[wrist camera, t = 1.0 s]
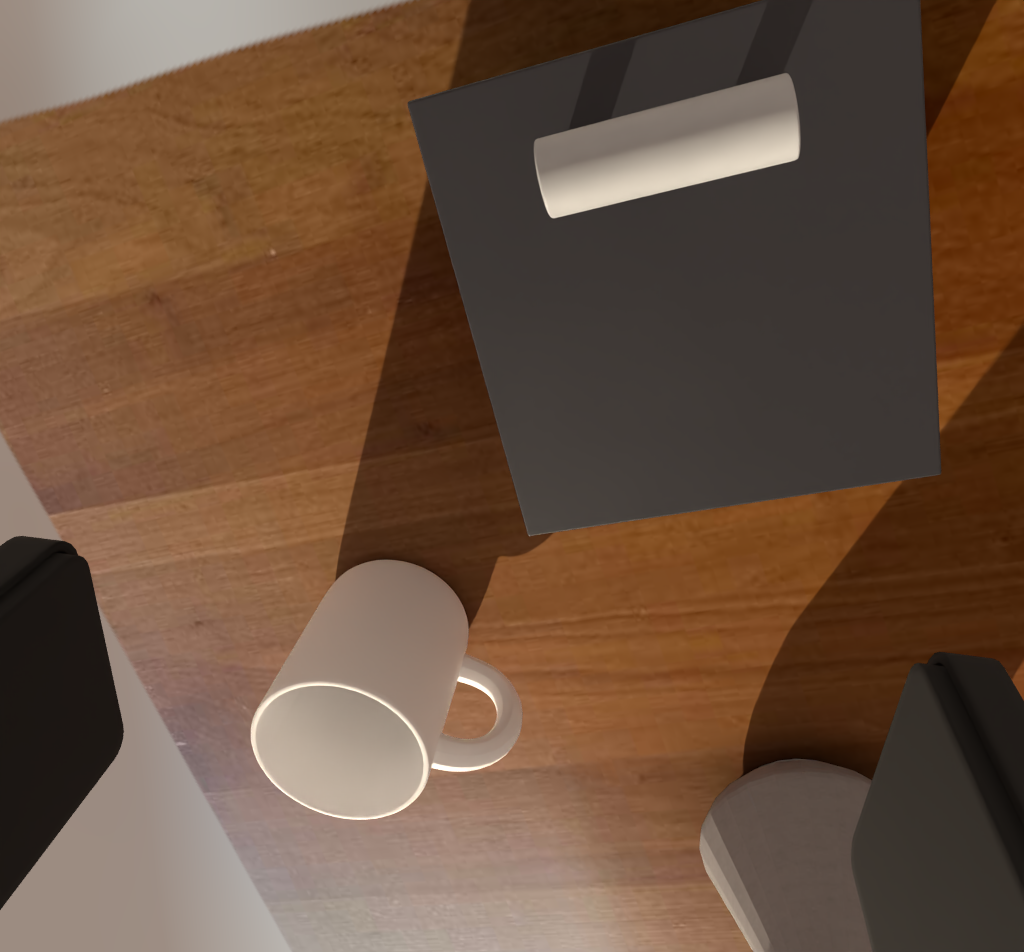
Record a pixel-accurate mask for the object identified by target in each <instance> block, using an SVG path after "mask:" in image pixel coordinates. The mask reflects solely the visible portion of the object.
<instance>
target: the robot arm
mask: <svg viewBox="0 0 1024 952" xmlns="http://www.w3.org/2000/svg"><path fill="white" fill-rule="evenodd" d="M123 733H124V730H123V722H122V718H121V713H120V708H119V704H118V699H117V694H116V690H115V685H114V680H113V676H112V671H111V666H110V662H109V657H108V652H107V648H106V643H105V638H104V634H103V629H102V625H101V620H100V615H99V611H98V606H97V601H96V597H95V592H94V587H93V583H92V578H91V573H90V569H89V566H88V563H87V561H86V560H85V559H84V558H83V557H81V556H78V554H77V551H76V549H75V548H74V547H73V546H72V545H71V544H70V543H67V542H65V541H58V540H50V539H42V538H34V537H26V536H18V537H14V538H12V539H10V540H8V541H6V542H5V543H4V544H2V545H1V546H0V910H1V908H2V907H3V906H4V904H5V903H6V902H7V900H8V899H9V898H10V896H11V895H12V894H13V892H14V891H15V890H16V888H17V887H18V886H19V885H20V883H21V882H22V880H23V879H24V878H25V877H26V875H27V874H28V872H29V871H30V870H31V869H32V867H33V866H34V865H35V863H36V862H37V861H38V859H39V858H40V857H41V855H42V854H43V853H44V852H45V850H46V849H47V848H48V846H49V845H50V843H51V842H52V841H53V840H54V838H55V837H56V836H57V834H58V833H59V832H60V830H61V829H62V828H63V826H64V825H65V824H66V823H67V821H68V820H69V819H70V817H71V816H72V814H73V813H74V812H75V811H76V809H77V808H78V807H79V805H80V804H81V803H82V801H83V800H84V799H85V797H86V796H87V795H88V793H89V792H90V791H91V790H92V788H93V787H94V786H95V784H96V783H97V782H98V780H99V779H100V778H101V776H102V775H103V774H104V772H105V771H106V770H107V768H108V767H109V766H110V764H111V763H112V762H113V760H114V759H115V757H116V755H117V754H118V752H119V750H120V747H121V744H122V740H123ZM851 864H852V871H853V876H854V880H855V884H856V888H857V892H858V896H859V900H860V904H861V908H862V912H863V916H864V920H865V924H866V928H867V932H868V936H869V940H870V944H871V948H872V952H1024V701H1023V699H1022V697H1021V696H1020V694H1019V692H1018V690H1017V689H1016V687H1015V685H1014V684H1013V682H1012V680H1011V678H1010V677H1009V675H1008V673H1007V672H1006V670H1005V668H1004V667H1003V666H1002V664H1001V663H1000V662H999V661H997V660H995V659H992V658H984V657H977V656H969V655H961V654H953V653H945V652H938V653H934V655H933V656H932V657H931V658H930V659H929V661H928V663H927V664H922V663H917V664H914V665H913V666H912V668H911V669H910V672H909V674H908V677H907V680H906V683H905V685H904V688H903V691H902V694H901V697H900V700H899V703H898V706H897V709H896V712H895V715H894V718H893V721H892V724H891V727H890V729H889V732H888V735H887V738H886V741H885V744H884V747H883V750H882V753H881V756H880V759H879V762H878V765H877V768H876V771H875V774H874V776H873V779H872V782H871V785H870V788H869V791H868V794H867V797H866V800H865V803H864V806H863V809H862V812H861V815H860V818H859V820H858V823H857V826H856V829H855V832H854V835H853V839H852V846H851Z"/></svg>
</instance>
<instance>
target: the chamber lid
mask: <svg viewBox="0 0 1024 952" xmlns="http://www.w3.org/2000/svg"><path fill="white" fill-rule="evenodd" d="M408 108H409V111H410V115H411V119H412V122H413V126H414V129H415V133H416V136H417V140H418V144H419V147H420V151H421V154H422V158H423V162H424V165H425V169H426V172H427V176H428V179H429V183H430V187H431V190H432V194H433V197H434V201H435V204H436V208H437V212H438V215H439V219H440V222H441V226H442V229H443V233H444V237H445V240H446V244H447V247H448V251H449V254H450V258H451V262H452V265H453V269H454V272H455V276H456V280H457V283H458V287H459V290H460V294H461V297H462V301H463V305H464V308H465V312H466V315H467V319H468V322H469V326H470V330H471V333H472V337H473V340H474V344H475V347H476V351H477V355H478V358H479V362H480V365H481V369H482V372H483V376H484V380H485V383H486V387H487V390H488V394H489V398H490V401H491V405H492V408H493V412H494V415H495V419H496V423H497V426H498V430H499V433H500V437H501V440H502V444H503V448H504V451H505V455H506V458H507V462H508V465H509V469H510V473H511V476H512V480H513V483H514V487H515V490H516V494H517V498H518V501H519V505H520V508H521V512H522V516H523V519H524V523H525V526H526V530H527V533H528V535H529V536H533V535H540V534H547V533H553V532H560V531H567V530H573V529H580V528H587V527H593V526H600V525H607V524H613V523H620V522H627V521H634V520H640V519H647V518H654V517H660V516H667V515H674V514H680V513H687V512H694V511H700V510H707V509H714V508H721V507H727V506H734V505H741V504H747V503H754V502H761V501H767V500H774V499H781V498H787V497H794V496H801V495H808V494H814V493H821V492H828V491H834V490H841V489H848V488H854V487H861V486H868V485H874V484H881V483H888V482H895V481H901V480H908V479H915V478H921V477H928V476H935V475H940V474H941V454H940V432H939V410H938V387H937V365H936V343H935V320H934V298H933V276H932V253H931V231H930V209H929V186H928V164H927V142H926V119H925V97H924V75H923V52H922V30H921V8H920V0H761V1H758V2H754V3H751V4H747V5H744V6H740V7H737V8H733V9H730V10H726V11H723V12H719V13H716V14H713V15H709V16H706V17H702V18H699V19H695V20H692V21H688V22H685V23H681V24H678V25H674V26H671V27H667V28H664V29H660V30H657V31H653V32H650V33H646V34H643V35H639V36H636V37H632V38H629V39H625V40H622V41H618V42H615V43H611V44H608V45H604V46H601V47H597V48H594V49H590V50H587V51H583V52H580V53H576V54H573V55H569V56H566V57H562V58H559V59H555V60H552V61H548V62H545V63H541V64H538V65H534V66H531V67H527V68H524V69H520V70H517V71H513V72H510V73H506V74H503V75H499V76H496V77H492V78H489V79H485V80H482V81H478V82H475V83H471V84H468V85H464V86H461V87H457V88H454V89H450V90H447V91H443V92H440V93H436V94H433V95H429V96H426V97H422V98H419V99H416V100H412V101H409V102H408Z"/></svg>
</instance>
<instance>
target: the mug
mask: <svg viewBox="0 0 1024 952" xmlns="http://www.w3.org/2000/svg"><path fill="white" fill-rule="evenodd" d="M468 632H469V630H468V620H467V616H466V613H465V610H464V608H463V605H462V603H461V602H460V600H459V598H458V596H457V595H456V594H455V592H454V591H453V590H452V589H451V588H450V587H449V585H448V584H447V583H445V582H444V581H443V580H442V579H441V578H440V577H438V576H437V575H435V574H434V573H432V572H430V571H428V570H427V569H425V568H423V567H420V566H418V565H415V564H412V563H408V562H405V561H398V560H375V561H370V562H366V563H363V564H360V565H357V566H355V567H353V568H351V569H349V570H348V571H346V572H345V573H344V574H342V575H341V576H340V577H339V578H338V579H337V580H336V581H335V582H334V583H333V585H332V586H331V587H330V589H329V590H328V591H327V593H326V594H325V596H324V597H323V599H322V601H321V602H320V604H319V606H318V607H317V609H316V611H315V612H314V614H313V616H312V617H311V619H310V621H309V623H308V624H307V626H306V628H305V629H304V631H303V633H302V634H301V636H300V638H299V639H298V641H297V643H296V644H295V646H294V648H293V649H292V651H291V653H290V654H289V656H288V658H287V660H286V661H285V663H284V665H283V666H282V668H281V670H280V671H279V673H278V675H277V676H276V678H275V680H274V681H273V683H272V685H271V686H270V688H269V690H268V691H267V693H266V695H265V696H264V698H263V700H262V702H261V703H260V705H259V707H258V708H257V710H256V712H255V714H254V717H253V721H252V726H251V743H252V747H253V751H254V754H255V756H256V759H257V761H258V763H259V765H260V766H261V768H262V770H263V771H264V772H265V774H266V775H267V777H268V778H269V779H270V780H271V781H272V782H273V783H274V784H275V785H276V786H277V787H278V788H279V789H280V790H281V791H283V792H284V793H285V794H287V795H288V796H289V797H291V798H292V799H294V800H295V801H297V802H299V803H300V804H302V805H304V806H306V807H308V808H310V809H313V810H315V811H318V812H320V813H323V814H327V815H330V816H334V817H340V818H345V819H375V818H380V817H385V816H388V815H391V814H394V813H396V812H398V811H400V810H402V809H404V808H406V807H407V806H408V805H410V804H411V803H412V802H413V801H414V800H415V799H416V798H417V797H418V796H419V795H420V793H421V792H422V791H423V789H424V787H425V785H426V783H427V781H428V777H429V774H430V771H431V768H436V769H440V770H446V771H472V770H477V769H481V768H484V767H486V766H489V765H492V764H493V763H495V762H497V761H499V760H500V759H501V758H503V757H504V756H505V755H506V754H507V753H508V752H509V751H510V749H511V748H512V747H513V745H514V744H515V742H516V740H517V738H518V736H519V734H520V730H521V727H522V714H523V713H522V705H521V701H520V698H519V695H518V694H517V692H516V690H515V688H514V686H513V685H512V683H511V682H510V681H509V679H508V678H507V677H506V676H505V675H504V674H503V673H502V672H500V671H499V670H498V669H496V668H495V667H493V666H492V665H490V664H488V663H486V662H484V661H482V660H480V659H478V658H475V657H473V656H470V655H467V654H466V653H465V652H466V649H467V644H468ZM457 681H460V682H463V683H466V684H469V685H472V686H474V687H477V688H478V689H480V690H482V691H484V692H485V693H486V694H487V695H488V696H489V697H490V698H491V699H492V700H493V702H494V703H495V706H496V710H497V719H496V722H495V725H494V727H493V728H492V729H491V731H489V732H488V733H487V734H486V735H484V736H482V737H479V738H474V739H461V738H455V737H452V736H448V735H445V734H443V733H442V731H443V727H444V724H445V721H446V717H447V714H448V711H449V707H450V704H451V701H452V697H453V694H454V691H455V688H456V684H457Z"/></svg>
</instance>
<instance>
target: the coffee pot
mask: <svg viewBox="0 0 1024 952" xmlns="http://www.w3.org/2000/svg"><path fill="white" fill-rule="evenodd" d="M871 782H872V780H871V779H869V778H867V777H865V776H863V775H861V774H859V773H857V772H855V771H854V770H850V769H847V768H843V767H839V766H836V765H832V764H829V763H825V762H820V761H817V760H806V759H790V760H781V761H776V762H773V763H770V764H766V765H763V766H761V767H759V768H757V769H754V770H753V771H751V772H749V773H747V774H746V775H744V776H742V777H741V778H739V779H737V780H736V781H734V782H732V783H730V784H729V785H728V786H727V787H726V788H725V789H724V790H723V791H722V792H721V793H720V794H719V795H718V796H717V797H716V799H715V801H714V802H713V804H712V806H711V808H710V810H709V812H708V814H707V816H706V818H705V820H704V822H703V824H702V828H701V837H700V848H699V849H700V852H701V856H702V859H703V862H704V866H705V869H706V872H707V873H708V875H709V877H710V879H711V880H712V882H713V884H714V885H715V887H716V889H717V890H718V892H719V894H720V896H721V897H722V899H723V901H724V902H725V904H726V906H727V908H728V909H729V911H730V913H731V914H732V916H733V918H734V919H735V921H736V923H737V925H738V926H739V928H740V930H741V931H742V933H743V935H744V937H745V938H746V940H747V942H748V943H749V945H750V947H751V949H752V950H753V952H872V948H871V944H870V940H869V936H868V932H867V928H866V924H865V920H864V916H863V912H862V908H861V904H860V900H859V896H858V892H857V888H856V884H855V880H854V876H853V871H852V864H851V846H852V839H853V835H854V832H855V829H856V826H857V823H858V820H859V818H860V815H861V812H862V809H863V806H864V803H865V800H866V797H867V794H868V791H869V788H870V785H871Z"/></svg>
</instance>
